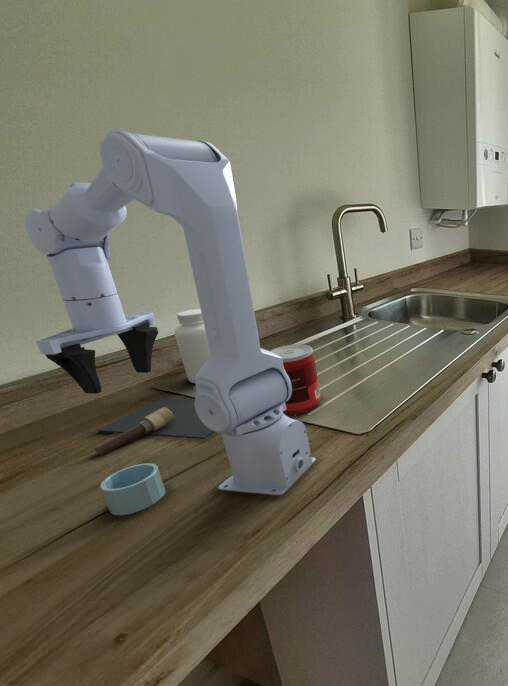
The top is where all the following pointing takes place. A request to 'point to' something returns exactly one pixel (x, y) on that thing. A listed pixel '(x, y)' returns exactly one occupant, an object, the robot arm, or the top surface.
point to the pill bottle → (192, 342)
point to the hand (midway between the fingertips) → (120, 381)
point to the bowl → (133, 489)
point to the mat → (180, 427)
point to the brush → (138, 430)
